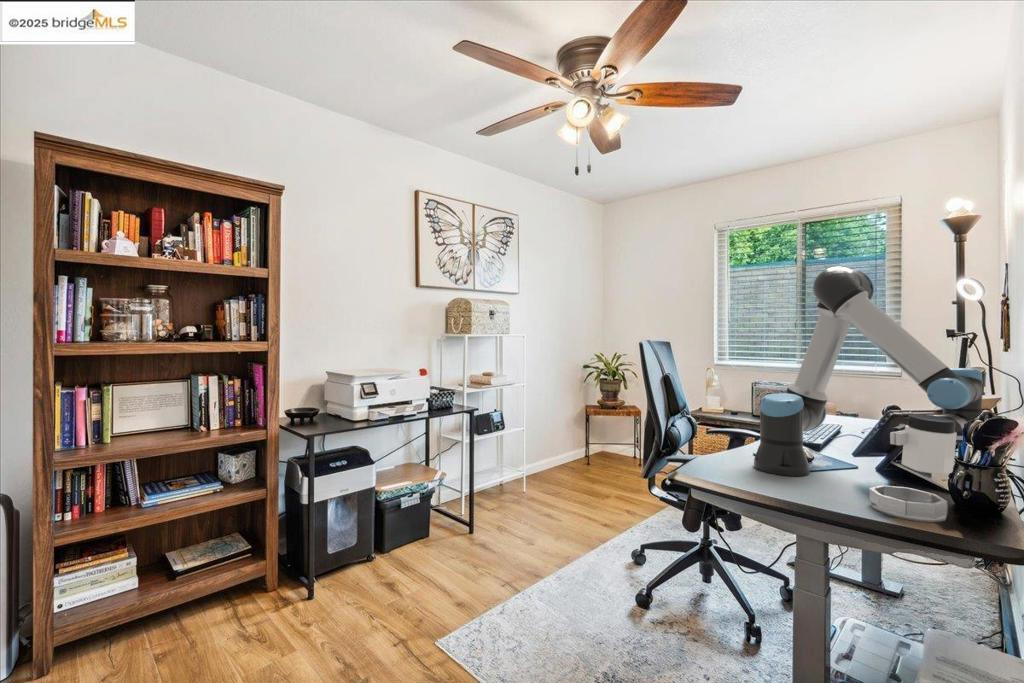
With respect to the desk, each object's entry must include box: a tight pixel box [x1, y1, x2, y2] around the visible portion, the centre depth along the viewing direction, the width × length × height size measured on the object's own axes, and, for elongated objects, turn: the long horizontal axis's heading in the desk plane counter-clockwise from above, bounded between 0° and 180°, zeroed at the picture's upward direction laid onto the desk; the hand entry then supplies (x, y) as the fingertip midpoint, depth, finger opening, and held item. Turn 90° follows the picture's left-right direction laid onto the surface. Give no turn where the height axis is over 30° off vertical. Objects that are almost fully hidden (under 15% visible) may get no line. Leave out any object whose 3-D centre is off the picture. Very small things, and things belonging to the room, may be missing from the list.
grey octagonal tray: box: [869, 484, 948, 523], centre depth 111 cm, size 14×14×4 cm
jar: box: [901, 413, 957, 476], centre depth 107 cm, size 9×8×12 cm
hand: (894, 438), depth 108 cm, fingers closed on jar
